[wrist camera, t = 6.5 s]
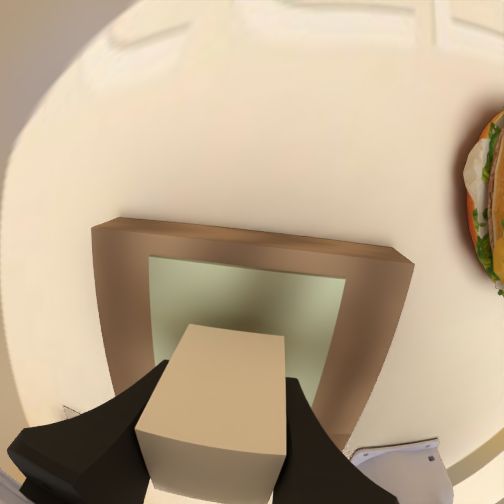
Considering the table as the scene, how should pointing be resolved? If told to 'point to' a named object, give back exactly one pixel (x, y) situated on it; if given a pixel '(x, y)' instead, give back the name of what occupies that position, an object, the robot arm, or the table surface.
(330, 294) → the board
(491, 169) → the burger
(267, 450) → the cream block
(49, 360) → the table surface
